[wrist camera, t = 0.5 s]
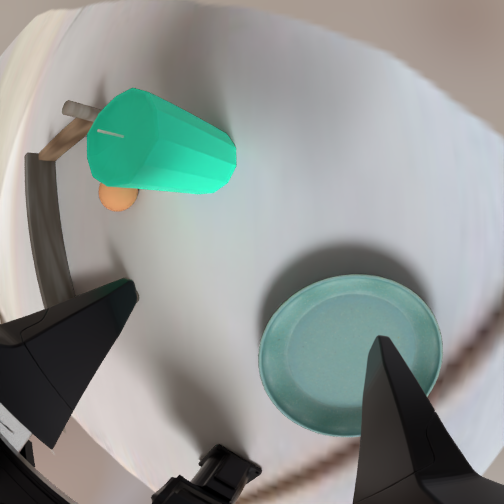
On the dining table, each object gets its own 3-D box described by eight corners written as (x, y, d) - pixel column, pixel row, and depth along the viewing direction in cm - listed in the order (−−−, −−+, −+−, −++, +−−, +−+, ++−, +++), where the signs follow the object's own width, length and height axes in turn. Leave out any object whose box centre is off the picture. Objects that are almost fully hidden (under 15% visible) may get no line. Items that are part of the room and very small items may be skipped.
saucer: (466, 327, 18) (477, 339, 15) (361, 439, 22) (359, 457, 19) (327, 230, 21) (324, 232, 19) (239, 366, 25) (227, 380, 23)
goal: (108, 109, 27) (70, 97, 21) (140, 302, 28) (99, 319, 22) (51, 156, 32) (19, 153, 26) (75, 310, 33) (41, 321, 27)
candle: (170, 188, 25) (61, 179, 14) (185, 126, 24) (83, 85, 12) (228, 201, 23) (122, 193, 12) (244, 131, 22) (152, 73, 11)
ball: (137, 218, 27) (108, 219, 23) (114, 200, 28) (86, 200, 24) (151, 181, 26) (123, 178, 22) (127, 166, 27) (99, 162, 23)
